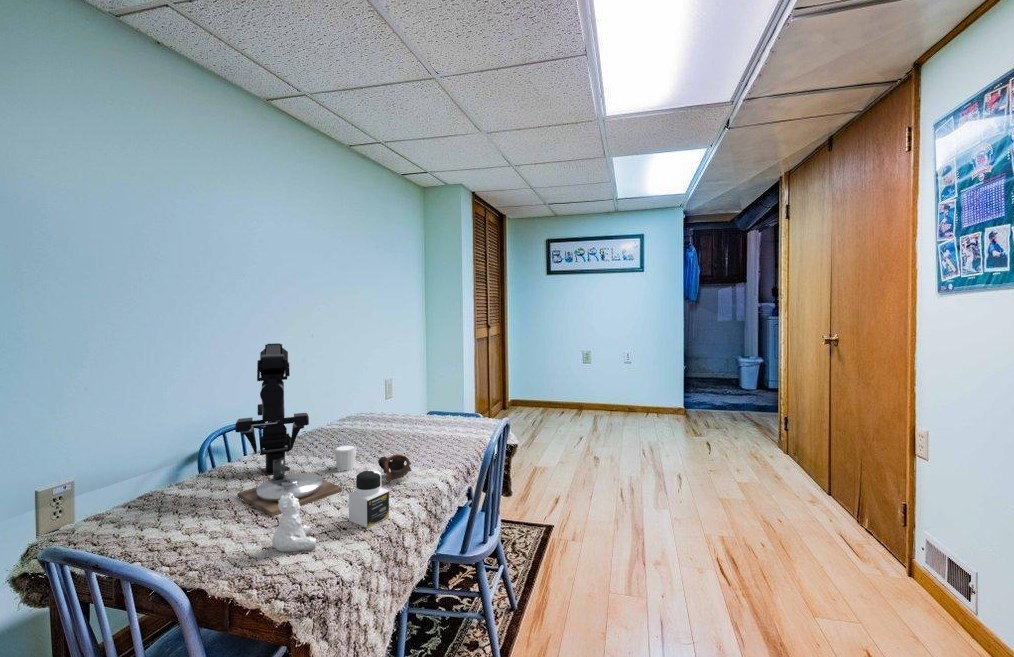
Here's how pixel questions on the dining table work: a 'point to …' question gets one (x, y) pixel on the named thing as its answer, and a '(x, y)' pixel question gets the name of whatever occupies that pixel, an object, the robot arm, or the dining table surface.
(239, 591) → the dining table surface
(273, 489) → the handwheel
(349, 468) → the shot glass
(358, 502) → the medicine bottle
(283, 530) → the sitting furry creature
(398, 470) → the pottery mug
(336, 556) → the dining table surface
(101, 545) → the dining table surface
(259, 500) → the walnut board
